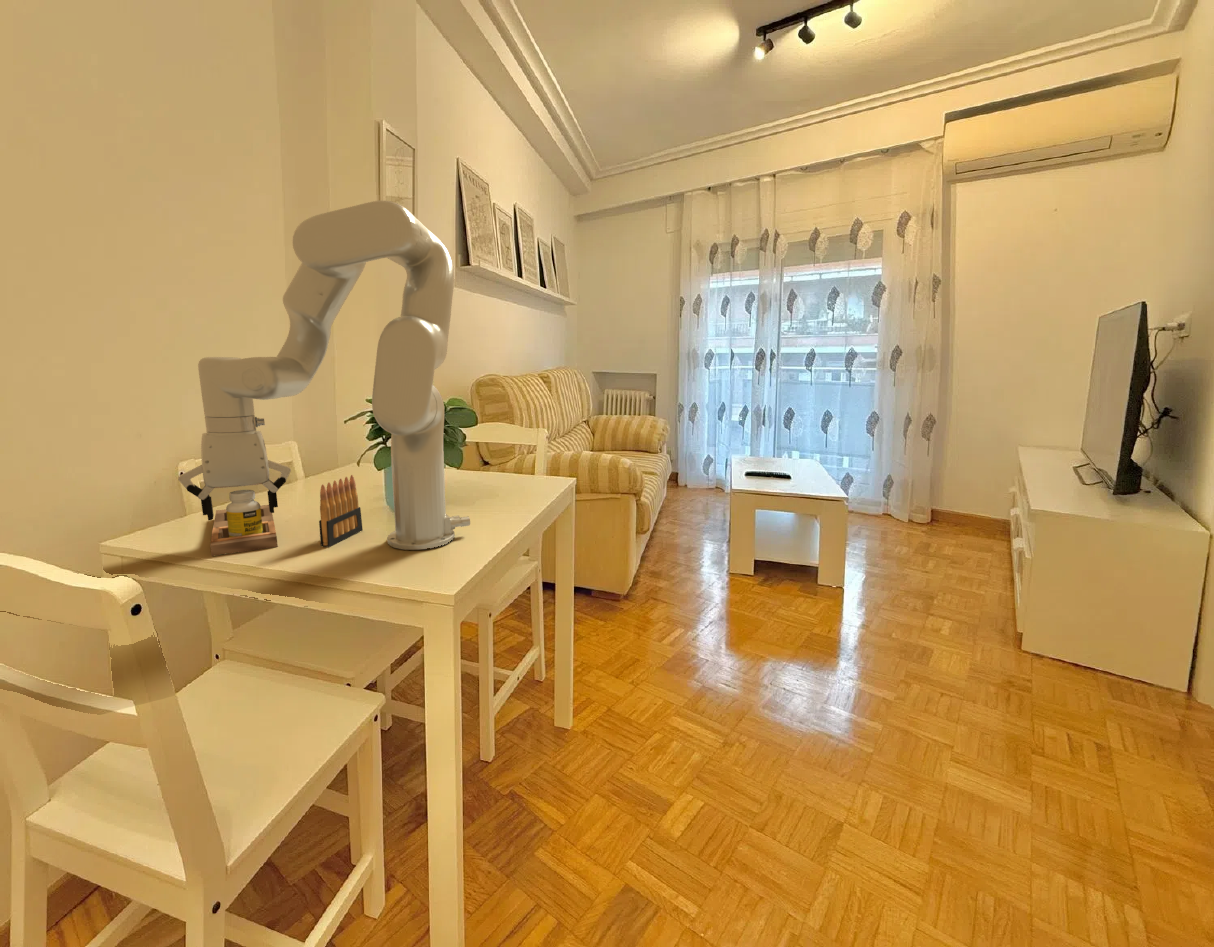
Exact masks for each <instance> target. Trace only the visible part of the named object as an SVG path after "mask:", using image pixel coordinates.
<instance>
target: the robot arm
mask: <svg viewBox="0 0 1214 947" xmlns="http://www.w3.org/2000/svg"><path fill="white" fill-rule="evenodd" d="M292 248H293V251H294V253H295V255H296V257H297V258H298V260H299V261H300V262H301V264H300V266H299V267H298V270H297V271H296V272H295V274H294V276H293V278H292V279H291V282H290V283H289V285H288V287H287V289H286V290H285V292H284V293H283V296H282V304H283V306H284V308H285V310H286V312H287V315H288V318H289V330H288V334H287V336H286V339H285V341H284V343H283V345H282V347H281V348H280V351H279V352H278V354H277V355H276V356H254V357H246V358H245V357H244V358H241V357H228V356H208V357H207V356H206V357H202V358H201V359H200V360H198V363H197V367H198V368H197V369H198V376H199V382H200V384H199V385H200V392H201V398H202V400H201V401H202V408H203V413H204V414H203V416H204V423H205V429H206V432H203V433H202V434H201V444H200V445H201V446H200V447H201V448H200V450H201V452H200V454H201V455H200V456H201V464H200V465H197V466H196V467H193V468H192V469H190V470H188V471H185V472H184V473H182V474H180V475H178V478H177V479H178V481H179V482H180V484H181V485H182V486H183V487H184V488H185V490H186V492H189V493H190V494H192V495H193V496H195V497H197V498H198V499H199V500H200V502H201V504H200V505H201V511H202V516H207V521H212V520H214V517H215V515H214V508H213V502H212V496H210V494H211V493H212V492H213V490H214V489H223V488H235V487H237V488H239V487H246V486H248V487H249V486H257V485H262V486H264V487H265V488H266V489H267V500H268V505H269V510H270V513H272V514H274V513H275V509H274V508H278V507H279V506H278V496H277V492H278V490H280V488H281V487H283V486H284V485H285V483H287V480H288V477H289V475H290V474H291V470H292V469H291V467H290V466H286V465H284V464H282V463H281V464H280V463H278V462H275V461H272V460H270V459H268V453H267V448H266V443H265V439H264V436H263V433H262V431H261V430H257V428H258V427H260V426H265V425H266V424H265V418H264V417H263V418H261V417H257V416H255V408H254V407H255V406H254V400H261V401H262V400H263V401H264V400H265V401H266V400H274V399H281V398H289V397H293V396H297V395H299V394H300V393H302V392H303V391H305V389H306V388H307V387H308V386H309V385H310V383H311V381H312V380H313V379H314V376H315V375H316V373H317V371H318V369H319V368H320V367H321V365H322V363H323V361H324V359H325V356H326V354H327V350H328V347H329V343H330V338H331V330H332V327H333V323H335V322H334V321H335V320H336V318H337V317H338V315H339V313H340V311H341V309H342V307H343V305H344V304H345V302H346V300H347V299H348V298H349V297H348V296H349V295H350V294H351V292H352V291H353V288H354V287H355V285H356V284H357V282H358V280H359V278H360V277H361V275H362V273H363V271H364V269H365V267H366V264H367V263H368V262H372V261H376V260H380V259H385V258H386V259H389V260H390V261H392V262H394V263H395V264H398V265H400V267H402V268H403V269H404V270H405V271H406V280H405V283H404V288H403V292H402V301H401V302H402V304H401V311H400V316H398V317H396V318H393V319H392V320H391V321H389V322H388V323H387V324H386V325H385V326H384V328H383V329H382V331H381V333H380V335H379V339H378V343H377V349H376V356H375V357H376V359H375V367H374V376H373V387H372V395H371V408H372V415H373V417H374V419H375V420H376V423H377V424H378V425H379V426H380V427H381V428H382V429H383V430H384V431H385V432H388V433H390V434H391V438H390V456H391V457H390V458H391V465H390V466H391V480H392V494H393V495H392V496H393V512H394V526H395V528H394V529H395V530H393V531H392V532H390V533H389V534H388V535H387V538H386V539H387V544H388V545H389V546H391V547H392V548H395V549H399V550H404V551H405V550H406V551H407V550H408V551H409V550H410V551H420V550H428V549H427V548H430V549H435V548H438V546H439V547H442V546H444V545H443V544H445V545H447V544H449V543H450V542H449V541H451V540H452V541H454V539H455V537H454V536H456V534H455V529H456V528H458V527H459V528H462V527H463V528H464V527H468V526H470V525H471V519H470V516H468V515H467V516H463V517H461V516H460V515H454V516H453V515H452V516H449V515H448V514H447V513H446V512H447V510H446V496H445V495H446V489H445V488H446V486H445V485H446V484H445V483H446V482H445V461H444V459H445V458H444V457H445V454H444V428H445V426H444V425H445V405H444V400H443V397H442V395H441V393H440V391H439V389H438V388H437V387H436V386H435V385H434V384H433V382H434V377H435V370H437V369H439V367H441V366H442V364H443V363H444V362H445V360H446V358H447V354H448V345H449V344H448V342H449V334H450V327H451V326H450V325H451V316H452V307H453V306H452V305H453V298H454V297H453V295H454V287H455V271H454V270H455V268H454V263H453V261H452V258H451V255H450V253H449V250H448V249H447V247H446V246H445V244H443V242H442V241H441V240H440V239H439V238H438V236H437V235H435V234H434V233H433V232H432V231H431V230H429V228H427V226H425V225H424V224H423V223H422V222H421V221H420V220H419V219H418V218H417V217H416V216H415V215H414V214H413V213H411V211H410V210H408V209H407V208H406V207H405V206H403V205H401V204H400V203H397V202H395V201H394V202H393V201H391V200H383V199H382V200H375V201H374V200H373V201H370V202H364V203H361V204H356V205H352V206H349V207H348V206H347V207H345V208H340V209H336V210H331V211H326V212H323V213H319V214H316V215H312V216H311V217H309V218H307V219H304V220H303V221H301V223H299V225H298V226H296V229H295V230H294V232H293V236H292ZM270 469H272V470H274V471H277V472H279V473H280V475H279V477H277V479H275V481H273V480H271V479H270ZM201 474H202V479H203V483H204V486H203V487H202V488H200V487H199V486H198V485H196V484H194V483H193V482H192V480H191V479H193V478H196V477H197V476H199V475H201ZM453 538H454V539H453ZM452 541H451V542H452ZM448 542H449V543H448ZM441 545H442V546H441ZM434 547H435V548H434Z"/></svg>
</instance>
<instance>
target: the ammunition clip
mask: <svg viewBox="0 0 1214 947" xmlns="http://www.w3.org/2000/svg"><path fill="white" fill-rule="evenodd" d="M326 484H327V485H326V487H325V484H324V483H323V484H321V487H320V490H319V497H320V498H319V499H320V502H319V504H320V505H319V512H320V520H319V521H318V523H319V524H318V525H319V537H320V538H319V539H320V541H319V542H320V546H321V547H325V548H331V547H333V546H335V545H337V544H339V543H341V542H343V541H344V540H345V541H346V540H347V539H350V538H351V537H352V536H354V535H356V534H358V533H361V532H363V520H362V512H361V511H362V510H361V509H362V508H361V507H360V506H359V495H358V493H357V486H356V485H357V483H356V480H355V477H354V475H353V474H351V475H350V477H349V478H348V477H347V476H345V478H344V480H343V479H342V478H339V480H338V482H337V481H336V480H333V483H332V485H331V483H330V482H327V483H326ZM360 531H361V532H360Z"/></svg>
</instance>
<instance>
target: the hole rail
mask: <svg viewBox="0 0 1214 947" xmlns="http://www.w3.org/2000/svg"><path fill="white" fill-rule="evenodd" d="M260 507H261V518H262V528H263V533H259V534H252V535H244V536H236V537H229V531H228V522H227V513H226V508H224V509H217V510H215V515H214V519H213V520H214V521H213V528H212V531H211V537H210V545H209V548H210V552H211V554H210V555H211V557H215V556H214V555H217V556H221V555H220V554H224V555H226V554H225V553H231V554H235V553H234V552H238V553H243V552H250V551H256V550H257V551H259V550H265V549H270V548H277V547H279V546H278V545H279V544H278V538H277V531H276V525H275V520H274V516H273V513H270V510H269V504H265V505H260Z"/></svg>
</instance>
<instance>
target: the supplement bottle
mask: <svg viewBox="0 0 1214 947" xmlns="http://www.w3.org/2000/svg"><path fill="white" fill-rule="evenodd" d="M228 495H229V501H230V502H231V503H229V504H227V506H225V507H226V508H225V509H226V513H227V522H228V531H229V537H236V536H244V535H252V534H259V533H263V528H262V518H261V507H260V506H261V504H260V502H259V501H256V500H255V499H256V492H255V490H253V489H240V490H239V489H238V490H233V491H230V492H229V493H228Z"/></svg>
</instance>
